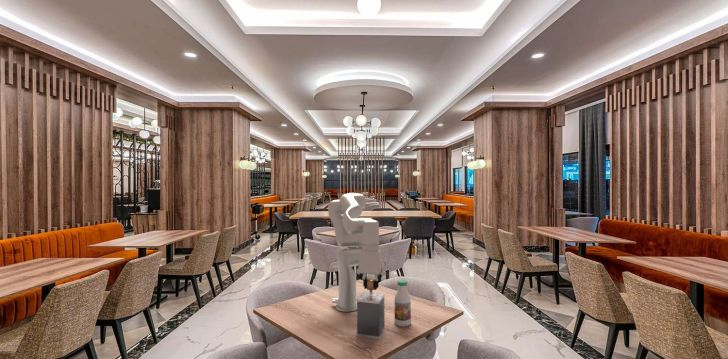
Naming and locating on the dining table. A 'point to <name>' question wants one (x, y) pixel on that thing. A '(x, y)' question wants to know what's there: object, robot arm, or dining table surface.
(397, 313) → the milk bottle
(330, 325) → the dining table surface
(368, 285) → the plunger
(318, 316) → the dining table surface
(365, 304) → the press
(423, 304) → the dining table surface
